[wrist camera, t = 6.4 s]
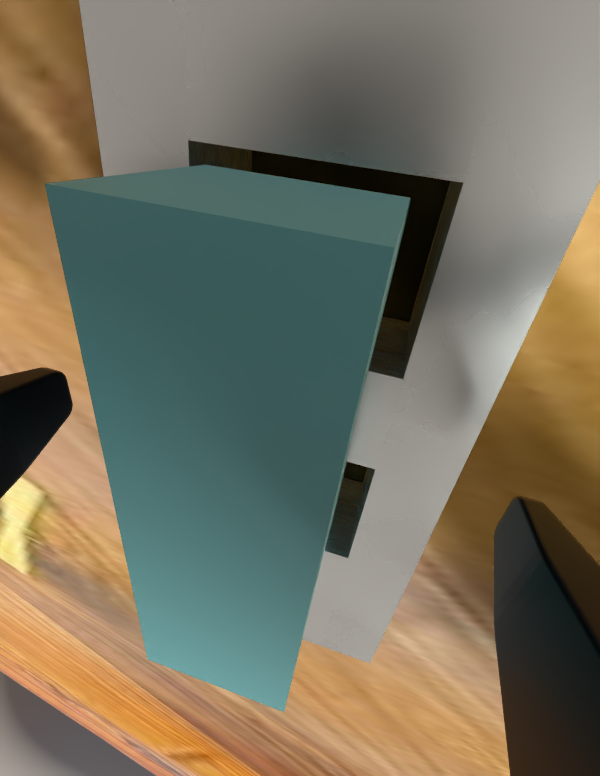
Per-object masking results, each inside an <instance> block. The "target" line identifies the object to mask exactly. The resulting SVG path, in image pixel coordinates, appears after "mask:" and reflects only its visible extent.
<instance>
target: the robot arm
mask: <svg viewBox="0 0 600 776" xmlns="http://www.w3.org/2000/svg"><path fill="white" fill-rule="evenodd" d="M72 406H73V404H72V399H71V395H70V391H69V387H68V383H67V379H66V376H65V375H64V374H63V373H62V372H60V371H57V370H53V369H49V368H37V369H32V370H28V371H23V372H19V373H14V374H10V375H5V376H0V498H1V497H2V496H3V495H4V494H5V493H6V492H7V491H8V490H9V489H10V488H11V487H12V486H13V485H14V484H15V482H16V481H17V480H18V479H19V478H20V477H21V476H22V475H23V474H24V472H25V471H26V470H27V469H28V468H29V466H30V465H31V464H32V463H33V461H34V460H35V459H36V458H37V456H38V455H39V454H40V452H41V451H42V450H43V449H44V447H45V446H46V445H47V443H48V442H49V441H50V440H51V438H52V437H53V436H54V434H55V433H56V432H57V431H58V429H59V428H60V427H61V425H62V424H63V423H64V422H65V420H66V419H67V418H68V417H69V415H70V413H71V411H72ZM494 629H495V641H496V650H497V659H498V668H499V677H500V686H501V695H502V704H503V713H504V722H505V731H506V741H507V750H508V759H509V768H510V776H600V566H599V564H598V563H597V562H596V561H595V560H594V559H593V558H592V557H591V555H590V554H589V553H588V552H587V551H586V550H585V549H584V548H583V546H582V545H581V544H580V543H579V542H578V541H577V540H576V539H575V537H574V536H573V535H572V534H571V533H570V532H569V531H568V530H567V529H566V527H565V526H564V525H563V524H562V523H561V522H560V521H559V520H558V518H557V517H556V516H555V515H554V514H553V513H552V512H551V511H550V509H549V508H548V507H547V506H546V505H545V504H544V503H542V502H540V501H537V500H533V499H529V498H525V497H522V496H518V497H515V498H514V499H513V500H512V502H511V503H510V505H509V506H508V508H507V510H506V511H505V513H504V515H503V516H502V518H501V520H500V521H499V523H498V525H497V527H496V530H495V535H494Z"/></svg>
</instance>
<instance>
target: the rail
mask: <svg viewBox="0 0 600 776" xmlns="http://www.w3.org/2000/svg"><path fill="white" fill-rule="evenodd" d="M79 5H80V13H81V20H82V27H83V34H84V41H85V48H86V55H87V62H88V69H89V77H90V84H91V91H92V98H93V105H94V112H95V119H96V126H97V134H98V141H99V148H100V155H101V162H102V169H103V176H104V177H105V176H113V175H122V174H130V173H139V172H147V171H155V170H164V169H172V168H181V167H189V166H198V165H211V166H218V167H224V168H230V169H236V170H242V171H248V172H252V150H255V151H261V152H268V153H274V154H281V155H287V156H294V157H300V158H307V159H313V160H319V161H326V162H332V163H339V164H345V165H352V166H358V167H365V168H371V169H378V170H384V171H391V172H397V173H404V174H410V175H417V176H423V177H429V178H436V179H442V180H449V181H450V184H449V187H448V191H447V194H446V198H445V201H444V204H443V208H442V211H441V215H440V218H439V222H438V225H437V229H436V232H435V235H434V239H433V242H432V246H431V249H430V253H429V256H428V260H427V263H426V266H425V270H424V273H423V277H422V280H421V284H420V287H419V291H418V294H417V297H416V301H415V304H414V308H413V311H412V315H411V318H410V322H407V321H402V320H397V319H392V318H388V317H383V316H382V320H381V324H380V327H379V331H378V335H377V339H376V343H375V346H374V350H373V354H372V358H371V362H370V366H369V370H368V374H367V378H366V382H365V387H364V391H363V395H362V399H361V403H360V407H359V411H358V415H357V419H356V423H355V427H354V432H353V436H352V440H351V444H350V448H349V452H348V456H347V460H346V461H347V462H350V463H354V464H358V465H361V466H365V467H367V470H366V473H365V477H364V480H363V483H361V482H358V481H354V480H351V479H347V478H344V477H343V480H342V484H341V488H340V492H339V496H338V500H337V503H336V507H335V511H334V515H333V519H332V523H331V527H330V531H329V535H328V539H327V543H326V547H325V551H324V555H323V559H322V563H321V567H320V571H319V575H318V579H317V583H316V587H315V591H314V595H313V599H312V603H311V607H310V610H309V614H308V618H307V622H306V626H305V630H304V634H303V638H302V639H303V640H306V641H309V642H311V643H314V644H317V645H320V646H323V647H326V648H328V649H331V650H334V651H337V652H340V653H342V654H345V655H348V656H351V657H354V658H357V659H359V660H362V661H365V662H368V663H370V662H371V660H372V658H373V656H374V654H375V652H376V650H377V648H378V645H379V643H380V641H381V639H382V637H383V635H384V633H385V631H386V629H387V627H388V624H389V622H390V620H391V618H392V616H393V614H394V612H395V610H396V608H397V606H398V603H399V601H400V599H401V597H402V595H403V593H404V591H405V589H406V587H407V585H408V582H409V580H410V578H411V576H412V574H413V572H414V570H415V568H416V566H417V564H418V561H419V559H420V557H421V555H422V553H423V551H424V549H425V547H426V545H427V543H428V540H429V538H430V536H431V534H432V532H433V530H434V528H435V526H436V524H437V522H438V519H439V517H440V515H441V513H442V511H443V509H444V507H445V505H446V503H447V501H448V498H449V496H450V494H451V492H452V490H453V488H454V486H455V484H456V482H457V480H458V477H459V475H460V473H461V471H462V469H463V467H464V465H465V463H466V461H467V458H468V456H469V454H470V452H471V450H472V448H473V446H474V444H475V442H476V440H477V437H478V435H479V433H480V431H481V429H482V427H483V425H484V423H485V421H486V419H487V416H488V414H489V412H490V410H491V408H492V406H493V404H494V402H495V400H496V398H497V395H498V393H499V391H500V389H501V387H502V385H503V383H504V381H505V379H506V377H507V374H508V372H509V370H510V368H511V366H512V364H513V362H514V360H515V358H516V356H517V353H518V351H519V349H520V347H521V345H522V343H523V341H524V339H525V337H526V335H527V332H528V330H529V328H530V326H531V324H532V322H533V320H534V318H535V316H536V314H537V311H538V309H539V307H540V305H541V303H542V301H543V299H544V297H545V295H546V293H547V290H548V288H549V286H550V284H551V282H552V280H553V278H554V276H555V274H556V271H557V269H558V267H559V265H560V263H561V261H562V259H563V257H564V255H565V253H566V250H567V248H568V246H569V244H570V242H571V240H572V238H573V236H574V234H575V232H576V229H577V227H578V225H579V223H580V221H581V219H582V217H583V215H584V213H585V211H586V208H587V206H588V204H589V202H590V200H591V198H592V196H593V194H594V192H595V190H596V187H597V185H598V183H599V181H600V0H79Z"/></svg>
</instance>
